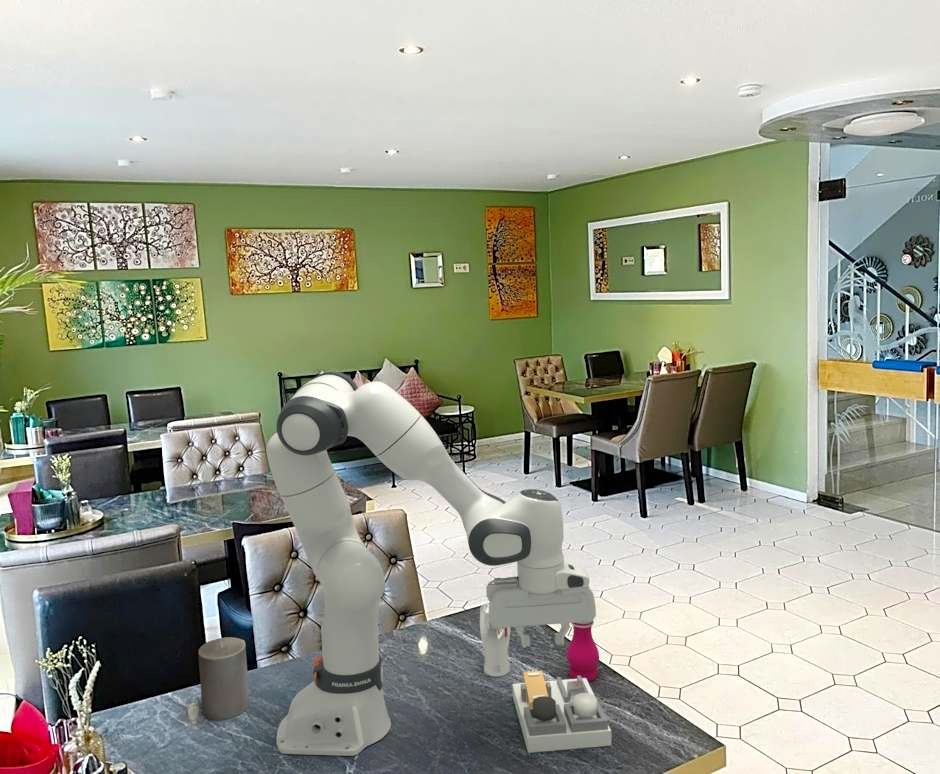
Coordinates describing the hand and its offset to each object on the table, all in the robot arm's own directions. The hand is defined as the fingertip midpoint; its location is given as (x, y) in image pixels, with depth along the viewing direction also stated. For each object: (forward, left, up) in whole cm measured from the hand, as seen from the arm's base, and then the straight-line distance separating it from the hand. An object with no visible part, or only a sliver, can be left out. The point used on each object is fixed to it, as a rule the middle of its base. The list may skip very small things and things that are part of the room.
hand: (542, 644), depth 145 cm
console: (+4, +6, -19) cm, 20 cm away
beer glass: (-6, +28, -19) cm, 35 cm away
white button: (+8, 0, -14) cm, 16 cm away
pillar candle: (-65, +21, -19) cm, 71 cm away
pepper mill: (+13, +23, -19) cm, 33 cm away
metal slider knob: (+8, +8, -16) cm, 20 cm away
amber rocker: (0, +10, -14) cm, 17 cm away
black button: (0, 0, -14) cm, 14 cm away
